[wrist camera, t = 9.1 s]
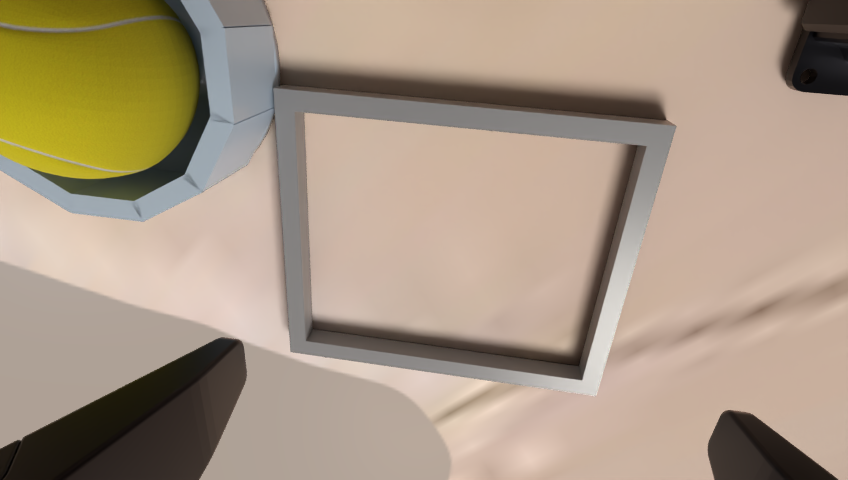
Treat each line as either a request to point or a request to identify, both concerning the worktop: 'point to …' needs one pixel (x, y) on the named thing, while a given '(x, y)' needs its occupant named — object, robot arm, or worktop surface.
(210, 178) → the bowl
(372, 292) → the worktop surface
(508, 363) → the grey square frame
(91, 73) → the tennis ball
